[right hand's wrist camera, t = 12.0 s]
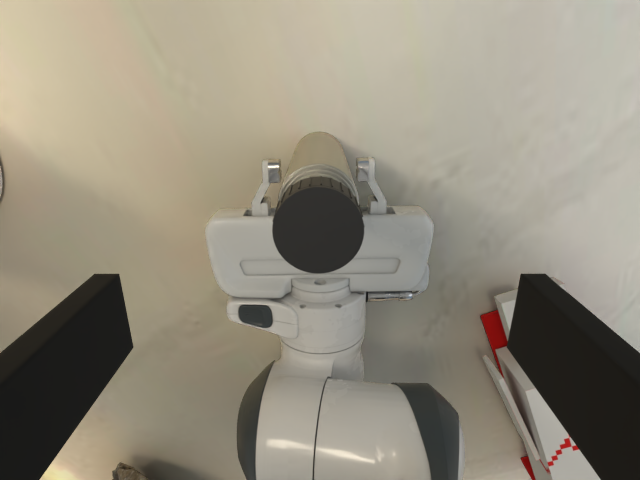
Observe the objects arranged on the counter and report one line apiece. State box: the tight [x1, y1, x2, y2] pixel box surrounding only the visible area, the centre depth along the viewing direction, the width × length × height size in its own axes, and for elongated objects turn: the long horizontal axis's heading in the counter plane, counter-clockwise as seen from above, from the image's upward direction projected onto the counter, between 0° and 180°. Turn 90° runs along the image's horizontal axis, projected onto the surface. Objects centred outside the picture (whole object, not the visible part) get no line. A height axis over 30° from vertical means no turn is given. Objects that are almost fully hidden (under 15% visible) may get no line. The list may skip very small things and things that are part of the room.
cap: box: [272, 176, 365, 274], centre depth 21 cm, size 5×5×2 cm
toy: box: [480, 277, 601, 480], centre depth 46 cm, size 12×13×30 cm
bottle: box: [278, 132, 359, 205], centre depth 31 cm, size 5×5×22 cm
